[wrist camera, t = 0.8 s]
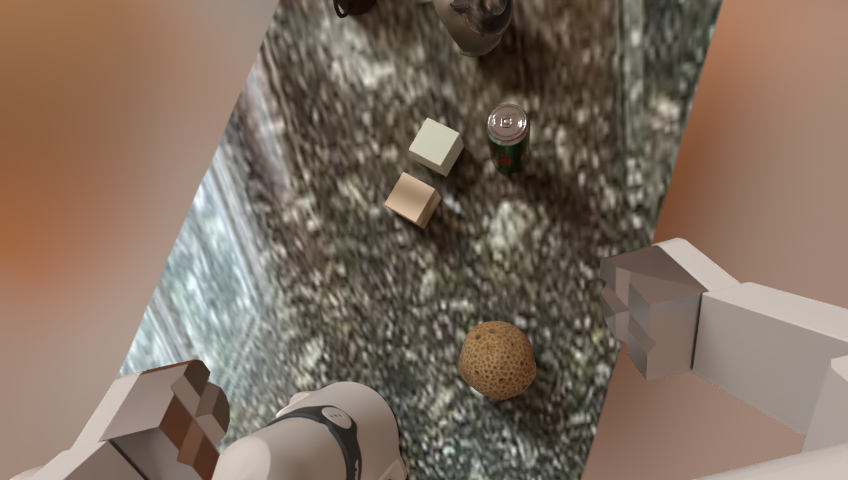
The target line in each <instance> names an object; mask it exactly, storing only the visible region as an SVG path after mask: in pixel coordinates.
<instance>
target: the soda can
mask: <svg viewBox="0 0 848 480" xmlns="http://www.w3.org/2000/svg"><path fill="white" fill-rule="evenodd" d="M485 129H486V135H487V140H488V145H489V150H490V155H491V159H492V163H493V165H494V166H495V168H496V169H498V170H499V171H501V172H503V173H509V174H510V173H516V172H518V171H520V170H521V169H522V168H524V166H525V165H526V164H527V162H528V158H529V140H530V120H529V117H528V115H527V113H526V112H525V111H524V110H523V109H522V108H520V107H519V106H517V105H514V104H503V105H500V106H498V107H497V108H495V109H494V110H493V111H492V112H491V113H490V115H489V116H488V118H487V120H486V125H485Z"/></svg>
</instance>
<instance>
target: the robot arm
mask: <svg viewBox="0 0 848 480" xmlns="http://www.w3.org/2000/svg"><path fill="white" fill-rule="evenodd" d="M600 276H601V277H602V279H603V280H604V281H605V282H606V284H607V285H606V286H605V288H604V289H603V290H602V292H601V307H602V311H603V314H604V318H605V321H606V323H607V325H608V327H609V329H610V330H611V332H612V333H613V335H614V336H615V338H616V339H619V340H621V341H623V342H625V343H627V344H628V354H627V355H628V356H629V358H630V359H631V360H632V362H633V363H634V364H635V366H636V367H637V369H638V370H639V371H640V373H641V374H642V376H643V377H644V378H645V380H646V381H648V380H652V379H657V378H661V377H666V376H671V375H675V374H680V373H684V372H689V371H693V372H692V373H693V374H695V375H697V376H698V377H700V378H702V379H704V380H706V381H707V382H709V383H711V384H713V385H714V386H716V387H718V388H720V389H722V390H723V391H725V392H727V393H729V394H730V395H732V396H734V397H736V398H737V399H739V400H741V401H743V402H745V403H746V404H748V405H750V406H752V407H753V408H755V409H757V410H759V411H761V412H763V413H764V414H766V415H768V416H770V417H771V418H773V419H775V420H777V421H779V422H780V423H782V424H784V425H785V426H787V427H789V428H791V429H793V430H794V431H796V432H798V433H800V434H801V435H803V436H805V438H804V441H803V444H802V447H801V450H800V452H799V454H796V455H791V456H787V457H783V458H779V459H775V460H771V461H766V462H762V463H758V464H754V465H750V466H746V467H742V468H738V469H733V470H729V471H725V472H721V473H717V474H713V475H709V476H705V477H701V478H696V479H692V480H848V309H845V308H841V307H838V306H834V305H831V304H827V303H823V302H820V301H816V300H813V299H809V298H805V297H801V296H798V295H794V294H791V293H787V292H784V291H780V290H776V289H773V288H770V287H766V286H762V285H759V284H755V283H751V282H747V283H743V284H740V283H739V282H738V281H737V280H735V279H734V278H733V277H731V276H730V275H729V274H728V273H726V272H725V271H724V270H723V269H721V268H720V267H719V266H718V265H716V264H715V263H714V262H712V261H711V260H710V259H709V258H708V257H706V256H705V255H704V254H702V253H701V252H700V251H699V250H697V249H696V248H695V247H694V246H692V245H691V244H690V243H689V242H687V241H686V240H684V239H681V238H675V239H672V240H668V241H665V242H661V243H657V244H654V245H652V246H649V247H645V248H641V249H637V250H633V251H629V252H625V253H621V254H617V255H613V256H609V257H605V258H602V260H601V264H600ZM209 376H210V371H209V370H208V368H207V367H206V366H205V364H204V363H203V361H200V360H195V359H194V360H189V361H185V362H181V363H176V364H172V365H167V366H163V367H158V368H154V369H149V370H146V371H142V372H138V373H133V374H129V375H125V376H122V377H120V378H119V379H117V380H115V381H114V383H113V384H112V386H111V387H110V389H109V390H108V392H107V394H106V395H105V397H104V398H103V400H102V401H101V403H100V405H99V406H98V407H97V409H96V411H95V412H94V414H93V415H92V417H91V419H90V420H89V422H88V423H87V425H86V426H85V428H84V429H83V431H82V432H81V434H80V436H79V437H78V439H77V440H76V442H75V444H74V445H73V446H72V448H71V449H70V450H67V451H63V452H61V453H60V454H59V455H58V456H56V457H55V458H54V459H53V460H51V461H50V462H49V463H48V464H47V465H44V466H39V467H36V468H33V469H30V470H27V471H25V472H23V473H21V474H19V475H17V476H15V477H13V478H11V479H9V480H389V479H391V480H406V477H407V472H406V468H405V465H404V462H403V460H402V458H401V455H400V452H399V436H398V428H397V424H396V420H395V418H394V415H393V413H392V411H391V409H390V407H389V406H388V404H387V403H386V401H385V400H384V399H383V398H382V397H381V396H380V395H379V394H378V393H377V392H375V391H374V390H372V389H371V388H369V387H367V386H365V385H363V384H360V383H355V382H338V383H334V384H331V385H328V386H326V387H324V388H322V389H320V390H318V391H304V392H299V393H297V394H295V395H294V396H293V397H292V398H291V400H290V403H289V405H288V406H287V407H285V408H284V409H282V410H281V411H279V412H278V413H277V415H276V417H277V418H276V419H275V420H273V421H272V422H271V423H269V424H268V425H267V426H266V427H265V428H263V429H261V430H259V431H257V432H254V433H252V434H250V435H248V436H246V437H243V438H241V439H239V440H237V441H236V442H234V443H233V444H231V445H230V446H229V447H228V448H227V449H226V450H225V451H224V452H223V453H222V454H221V456H220V457H219V453H218V451H217V449H216V447H215V446H216V445H217V444H218V443H219V442H220V440H221V439H222V438H223V437H224V436H225V435H226V432H227V429H228V425H229V422H230V410H229V404H228V401H227V397H226V395H225V394H224V392H223V390H222V389H221V387H219V386H216V385H214V384H212V383H210V382H208V380H209Z"/></svg>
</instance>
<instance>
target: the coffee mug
mask: <svg viewBox="0 0 848 480" xmlns="http://www.w3.org/2000/svg"><path fill="white" fill-rule="evenodd" d="M333 2H334V8H335V11H336V13H337V15H338V16H339V17H340V18H344V17H346V16H347V15H348V14H350V15H360V14H363V13H365V12H367V11H369V10H370V9H371V8H372V7H373V6H374V4H375V2H376V0H333ZM338 4H339V6H340V7H341V8H342V9H343V10H344V11H345V12H344V13H343V14H341V12H340V10H339V8H338Z"/></svg>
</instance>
